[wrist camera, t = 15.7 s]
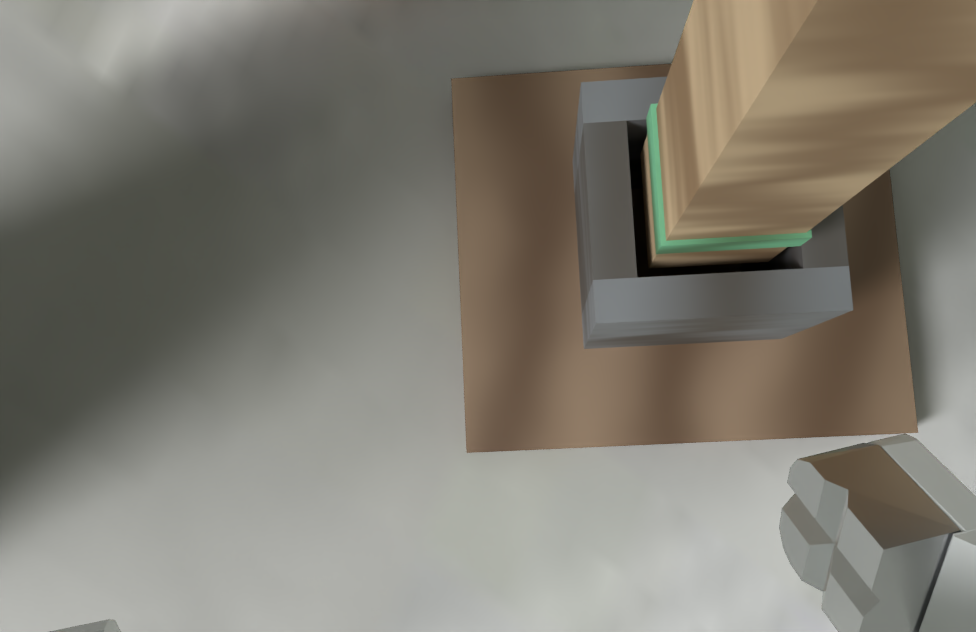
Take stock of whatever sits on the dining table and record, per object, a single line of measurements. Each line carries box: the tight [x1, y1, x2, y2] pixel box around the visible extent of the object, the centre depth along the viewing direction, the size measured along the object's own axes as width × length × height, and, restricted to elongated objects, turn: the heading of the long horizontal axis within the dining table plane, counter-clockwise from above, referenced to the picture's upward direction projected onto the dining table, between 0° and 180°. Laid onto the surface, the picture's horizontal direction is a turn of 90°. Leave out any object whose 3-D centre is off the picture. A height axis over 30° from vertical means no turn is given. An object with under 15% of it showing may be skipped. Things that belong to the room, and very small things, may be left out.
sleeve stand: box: [451, 64, 918, 453], centre depth 33 cm, size 18×16×10 cm
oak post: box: [640, 0, 976, 269], centre depth 20 cm, size 4×4×21 cm
